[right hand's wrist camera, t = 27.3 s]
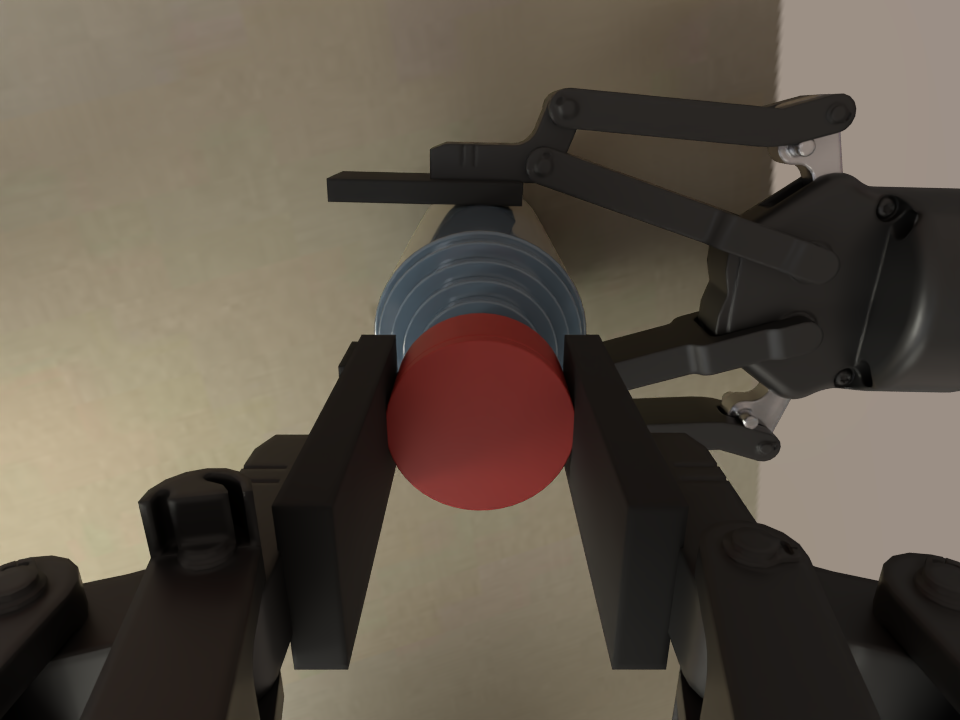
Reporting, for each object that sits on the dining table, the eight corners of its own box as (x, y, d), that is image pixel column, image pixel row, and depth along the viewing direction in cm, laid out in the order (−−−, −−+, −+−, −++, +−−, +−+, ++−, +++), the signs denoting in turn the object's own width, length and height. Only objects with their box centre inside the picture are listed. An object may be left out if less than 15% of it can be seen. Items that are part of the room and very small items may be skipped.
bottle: (541, 311, 30) (608, 529, 15) (416, 310, 30) (348, 526, 15) (548, 182, 28) (635, 274, 12) (413, 181, 28) (329, 271, 12)
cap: (484, 275, 13) (485, 300, 12) (599, 395, 14) (615, 434, 13) (361, 389, 14) (345, 426, 13) (477, 494, 15) (476, 541, 14)
